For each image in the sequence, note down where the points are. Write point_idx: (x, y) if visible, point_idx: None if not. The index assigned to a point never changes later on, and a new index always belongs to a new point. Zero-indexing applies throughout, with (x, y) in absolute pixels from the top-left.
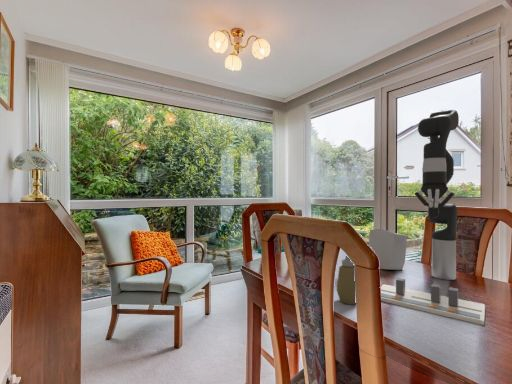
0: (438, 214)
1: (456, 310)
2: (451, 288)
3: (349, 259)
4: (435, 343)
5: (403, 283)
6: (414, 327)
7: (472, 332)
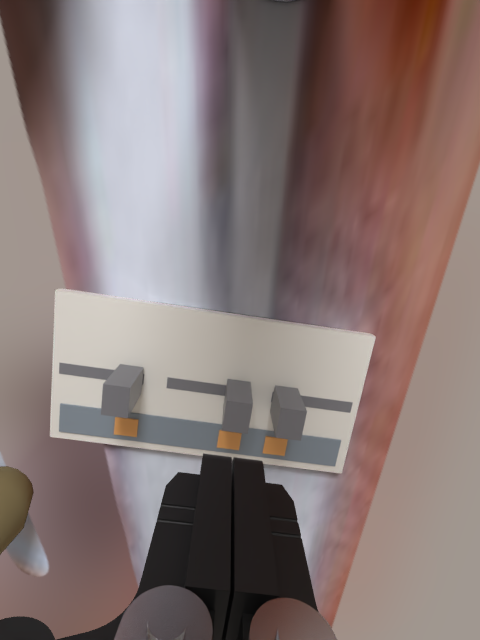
0: (288, 522)
1: (286, 446)
2: (285, 420)
3: None
4: None
5: (130, 410)
6: None
7: (305, 518)
